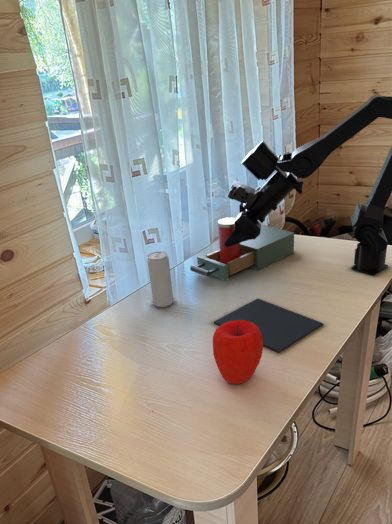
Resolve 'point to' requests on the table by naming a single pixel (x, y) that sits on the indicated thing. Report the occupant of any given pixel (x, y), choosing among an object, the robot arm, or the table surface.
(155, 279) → the beverage can
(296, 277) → the table surface
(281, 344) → the mat
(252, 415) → the table surface
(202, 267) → the drawer
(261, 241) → the cabinet
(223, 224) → the tea tin
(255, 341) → the apple
